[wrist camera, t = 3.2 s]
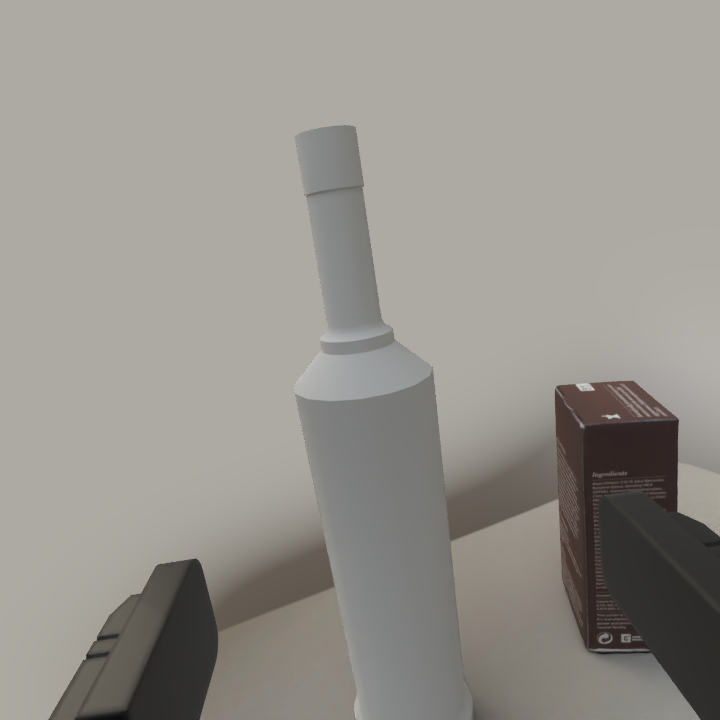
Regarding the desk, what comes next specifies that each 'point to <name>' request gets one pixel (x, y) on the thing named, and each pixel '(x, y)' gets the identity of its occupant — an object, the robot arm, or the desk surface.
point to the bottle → (376, 464)
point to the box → (607, 490)
